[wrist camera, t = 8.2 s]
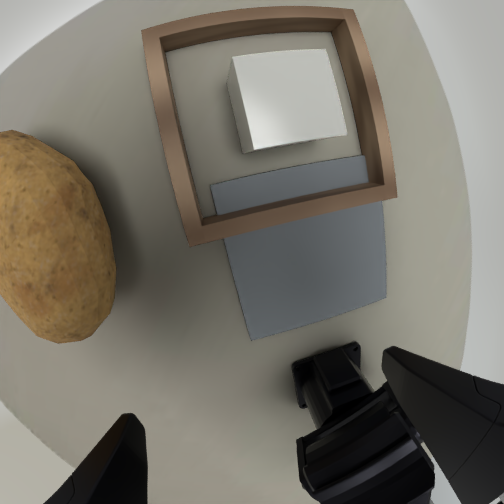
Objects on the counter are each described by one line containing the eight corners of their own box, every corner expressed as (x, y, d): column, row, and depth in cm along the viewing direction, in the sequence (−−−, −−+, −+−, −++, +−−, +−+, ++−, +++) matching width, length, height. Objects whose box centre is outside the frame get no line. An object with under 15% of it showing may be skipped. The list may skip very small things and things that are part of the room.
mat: (383, 295, 22) (386, 297, 22) (250, 337, 22) (250, 340, 21) (373, 153, 18) (375, 153, 18) (210, 184, 18) (210, 185, 17)
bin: (378, 192, 19) (397, 197, 17) (192, 236, 18) (189, 247, 16) (339, 22, 15) (353, 9, 12) (148, 45, 14) (141, 30, 12)
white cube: (314, 140, 18) (347, 135, 13) (242, 153, 17) (254, 150, 13) (298, 73, 16) (325, 49, 11) (226, 83, 16) (232, 56, 11)
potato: (70, 99, 14) (3, 75, 7) (166, 262, 19) (141, 324, 11) (-7, 181, 14) (-74, 197, 7) (76, 320, 19) (35, 383, 12)
